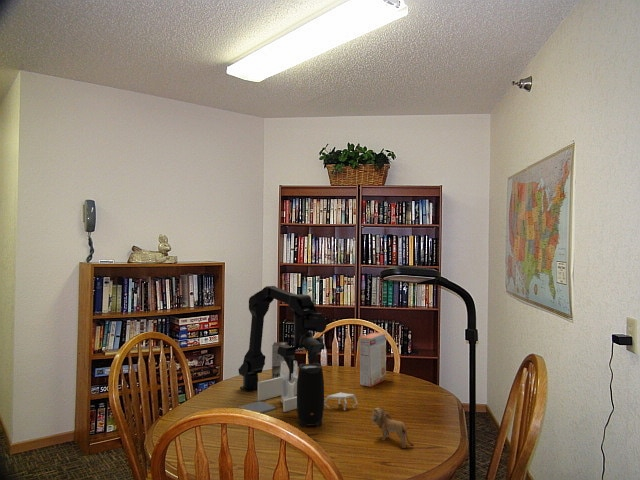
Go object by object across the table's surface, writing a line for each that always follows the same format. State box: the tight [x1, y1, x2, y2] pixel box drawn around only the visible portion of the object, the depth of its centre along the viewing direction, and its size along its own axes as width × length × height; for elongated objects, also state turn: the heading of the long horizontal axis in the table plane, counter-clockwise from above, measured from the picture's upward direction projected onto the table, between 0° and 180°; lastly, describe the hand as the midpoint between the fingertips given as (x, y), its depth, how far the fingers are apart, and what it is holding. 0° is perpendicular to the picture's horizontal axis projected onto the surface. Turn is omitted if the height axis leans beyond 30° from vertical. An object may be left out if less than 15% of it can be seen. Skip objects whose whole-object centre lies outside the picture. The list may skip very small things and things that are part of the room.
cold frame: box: [257, 377, 298, 413], centre depth 182 cm, size 17×17×7 cm
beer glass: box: [280, 359, 299, 404], centre depth 183 cm, size 7×7×15 cm
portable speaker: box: [296, 362, 325, 428], centre depth 160 cm, size 9×9×20 cm
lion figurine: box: [370, 407, 415, 449], centre depth 145 cm, size 15×5×9 cm, turn 50°
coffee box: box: [271, 341, 289, 379], centre depth 211 cm, size 9×6×16 cm
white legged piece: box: [324, 391, 359, 411], centre depth 175 cm, size 12×8×5 cm
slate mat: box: [237, 400, 277, 414], centre depth 174 cm, size 10×10×1 cm
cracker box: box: [358, 331, 387, 388], centre depth 208 cm, size 14×6×21 cm, turn 144°
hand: (301, 371), depth 177 cm, fingers open, 9 cm apart
